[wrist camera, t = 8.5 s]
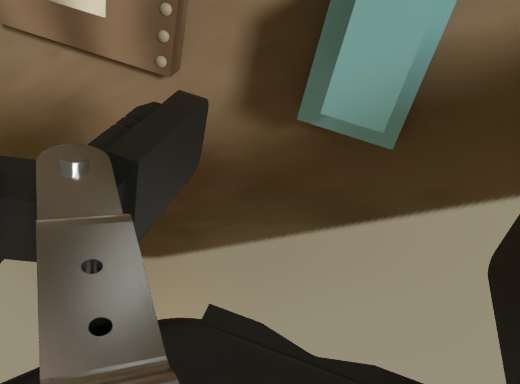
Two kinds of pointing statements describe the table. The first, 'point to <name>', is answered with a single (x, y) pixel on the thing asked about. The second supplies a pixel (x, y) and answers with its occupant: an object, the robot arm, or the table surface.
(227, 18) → the table surface
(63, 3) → the board
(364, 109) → the stub
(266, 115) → the table surface
